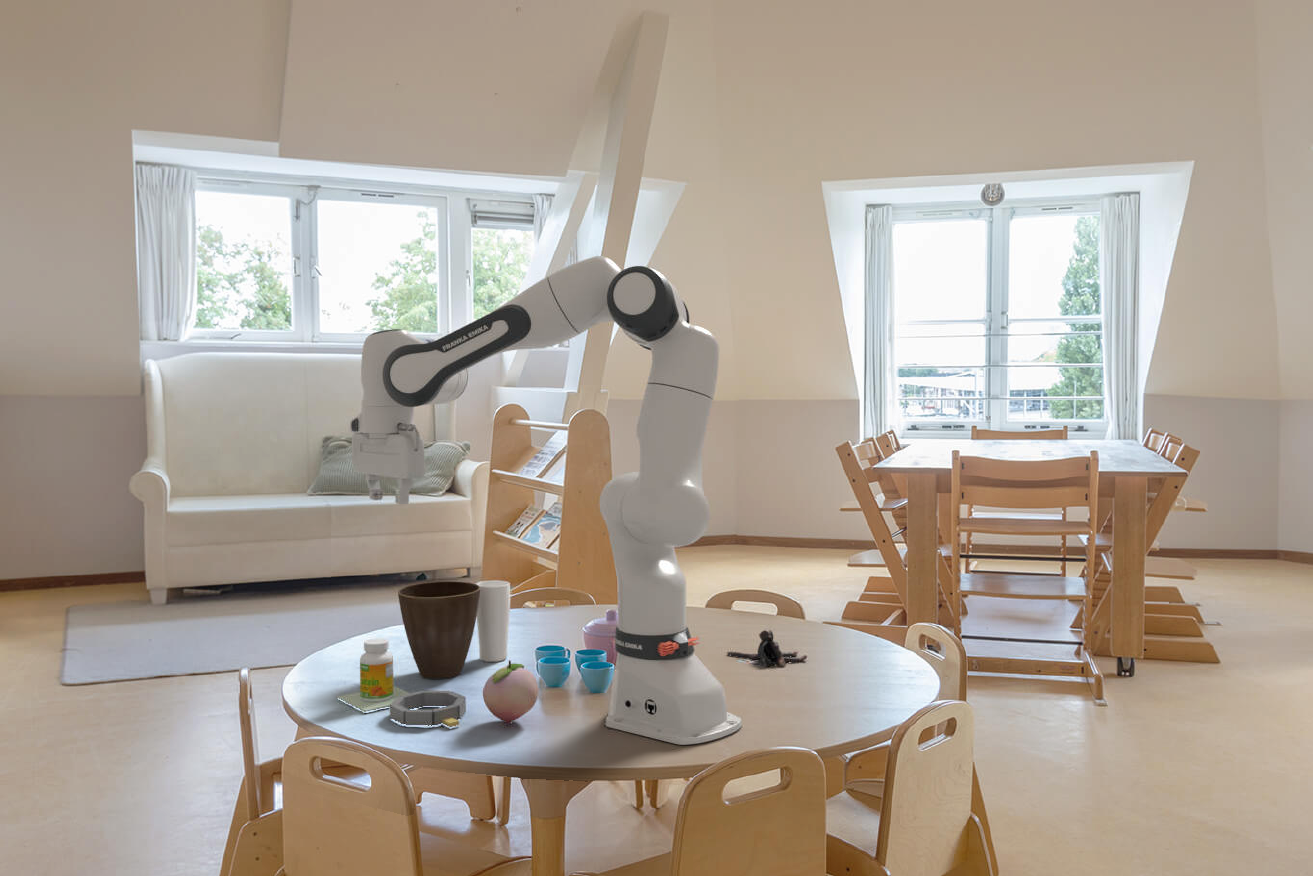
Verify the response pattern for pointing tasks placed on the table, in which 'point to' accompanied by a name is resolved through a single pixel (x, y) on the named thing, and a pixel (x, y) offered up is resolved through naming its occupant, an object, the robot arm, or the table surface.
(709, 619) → the table surface
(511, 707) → the decorative fruit
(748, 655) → the stuffed animal
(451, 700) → the collar
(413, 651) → the plant pot
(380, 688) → the supplement bottle
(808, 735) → the table surface
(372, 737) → the table surface
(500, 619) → the drinking glass
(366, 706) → the mat
